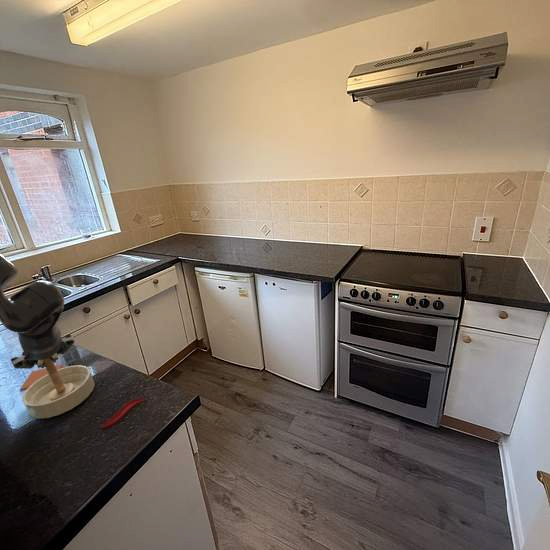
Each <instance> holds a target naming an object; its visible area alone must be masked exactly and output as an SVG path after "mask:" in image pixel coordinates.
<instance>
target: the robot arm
mask: <svg viewBox="0 0 550 550" xmlns="http://www.w3.org/2000/svg"><path fill="white" fill-rule="evenodd" d="M18 274H19V270H18V268H17V267H16V266H15V265H14V263H12V262H11V261H9V260H8V259H7V258H6V257H4V256H3V255H2V254H1V253H0V323H1V325H3V327H4V328H5V329H7V330H8V331H11V332H13V333H17V335H18V342H19V344H20V347H21V349H22V353H21V355H20V356H14V357H11V359H10V362H11V364H12V366H13V367H14V369H21V370H22V369H23V370H25V369H26V370H29V369H33V368H34V367H35V366H36V367H37V368H38V369H44V368H45V365H44V359H47V358H50V357H51V358H52V360H53V362H54V364H55V363H57V361H58V360H59V355H64V354H65V353H67V351H68V350H70V348H71V347H72V346H73V345H74V344H75V340H74V338H73V336H72V334H67V335H65V336H64V337H63V338H62V332H61V330H60V327H59V324H58V321H59V320H60V318H61V315H62V313H63V310H64V307H65V298H64V294H63V292H62V290H61V289H60V288H59V287H58V286H57V285H56V284H54V283H53V282H51V281H47V280H36V281H33V282H31V283H29V284H27V285H26V286H25V287H23V288H22V289H20V290H19V291H17V292H16V293H14V294H12V295H11V296H10V297H7V296H6V295H5V293H4V290H5V288H6V287H7V286H8V285H9V284H11V282H13V280H15V278H16V277H17V276H18Z"/></svg>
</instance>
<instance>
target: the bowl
mask: <svg viewBox="0 0 550 550" xmlns="http://www.w3.org/2000/svg"><path fill="white" fill-rule="evenodd" d="M57 371H58V373H59V376H60V378H61V380H62V382H63V384H67V383H71V384H73V385H74V387H75V390H74V391H72V392H70V393H69V394H67V395H65V396H64V397H61V398H59V399H57V400H54V401H51V400H50V398H49V394H50V392H51V391H52V390H54V389H55V387H54V385H53V383H52V380H51V378H50V376H49V374H47V375H45V376H43V377H42V378H40V379H39V380H37V381H36V382H34V383H33V384H32V385H31V386H30V387H29V388H28V389H25V390H24V393H23V394H22V399H21V401H22V403H23V405H24V407H25V409H26V411H27V413H28V414H29V415H30V417H31V418H34V419H39V420H40V419H50V418H53V417H56V416H59V415H62V414H64V413H67V412H68V411H70V410H73V409H74V408H75V407H77V406H79V405H80V404H82V403H83V402H84V401H85V400H86V399H87V398H89V396H90V395H91V393H92V392H93V391H94V388H95V385H96V383H95V379H94V377H93V375H92V372H91V369H90V368H89V367H87V366H86V365H81V364H78V365H77V364H75V365H69V366H65V367H62V368H61V369H59V370H57Z"/></svg>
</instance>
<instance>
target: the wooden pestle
mask: <svg viewBox="0 0 550 550" xmlns="http://www.w3.org/2000/svg"><path fill="white" fill-rule="evenodd" d="M44 365H45V367H44V368H46V370H47V372H48V374H49V376H50V378H51V380H52V383H53V385H54V387H55V389H54V390H52V391H51V392H50V394H49V398H50V400H51V401H54V400H57V399H59V398H61V397H64V396H65V395H67V394H69V393H70V392H72V391H74V390H75V387H74V385H73V384H71V383H67V384H63V382H62V380H61V378H60V376H59V373H58V371H57V369H56V367H55V366H56V365H55V363H54V362H53V360H52V358H51V357H50V358H47V359H44Z"/></svg>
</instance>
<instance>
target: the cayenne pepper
mask: <svg viewBox="0 0 550 550" xmlns="http://www.w3.org/2000/svg"><path fill="white" fill-rule="evenodd" d="M146 401H147V399H146V398H135V399H131V400H129V401H127V402H125V403H124V404H123V405H122V407H121V408H120V409H119V410H118V411H117V412H116V413H115V414H113V415H112V416H111V417H110V418H109V419H108V420H107V421H106V422H105V423H103V424H102V425H100V427H99V429H105V428H109V427H111V426H113V425H115V424H117V423H118V422H119V421H120V420H122V419H123V418H124V417H125V416H126V415H127V414H128V413H129V412H130V411H131V410H132V409H133V408H134V407H135V406H137V405H138V404H141V403H145V402H146Z"/></svg>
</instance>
